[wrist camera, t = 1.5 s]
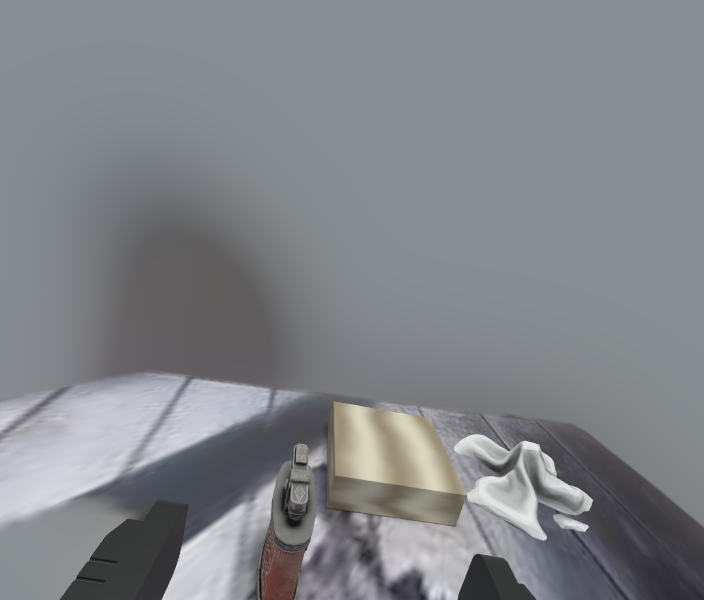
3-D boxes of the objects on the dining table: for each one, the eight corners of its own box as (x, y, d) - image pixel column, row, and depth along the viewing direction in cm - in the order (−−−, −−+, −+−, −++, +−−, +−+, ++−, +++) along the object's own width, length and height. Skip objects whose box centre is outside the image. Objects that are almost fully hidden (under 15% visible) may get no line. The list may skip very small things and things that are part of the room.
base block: (422, 442, 52) (430, 418, 51) (455, 525, 38) (466, 495, 37) (327, 426, 50) (333, 401, 49) (326, 507, 37) (335, 475, 36)
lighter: (296, 627, 26) (325, 515, 24) (249, 625, 25) (274, 510, 23) (300, 529, 34) (321, 438, 31) (263, 526, 33) (283, 433, 31)
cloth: (483, 539, 38) (502, 491, 37) (431, 432, 56) (442, 397, 55) (661, 560, 41) (685, 517, 40) (558, 452, 59) (572, 420, 58)
